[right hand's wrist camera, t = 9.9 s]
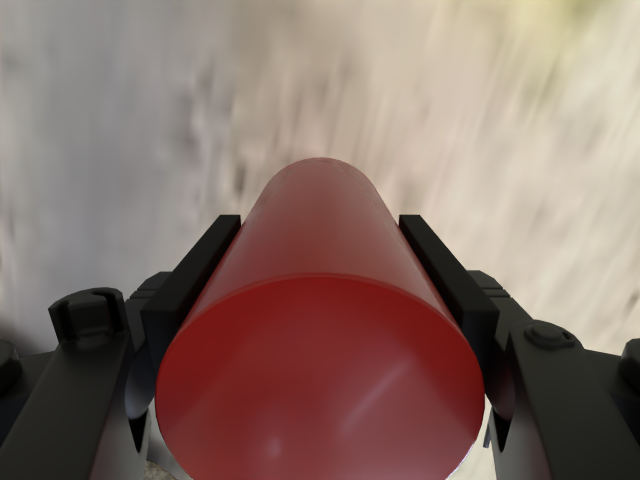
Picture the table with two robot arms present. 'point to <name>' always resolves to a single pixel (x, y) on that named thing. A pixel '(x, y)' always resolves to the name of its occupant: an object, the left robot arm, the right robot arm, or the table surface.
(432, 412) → the tin
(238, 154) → the table surface
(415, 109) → the table surface
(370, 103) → the table surface
